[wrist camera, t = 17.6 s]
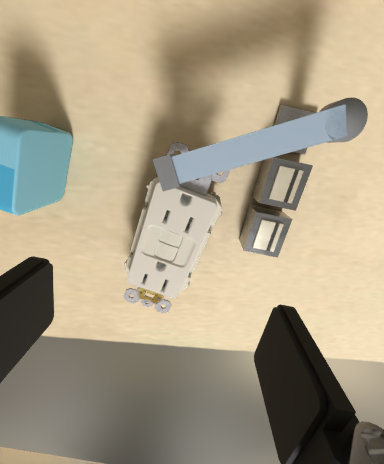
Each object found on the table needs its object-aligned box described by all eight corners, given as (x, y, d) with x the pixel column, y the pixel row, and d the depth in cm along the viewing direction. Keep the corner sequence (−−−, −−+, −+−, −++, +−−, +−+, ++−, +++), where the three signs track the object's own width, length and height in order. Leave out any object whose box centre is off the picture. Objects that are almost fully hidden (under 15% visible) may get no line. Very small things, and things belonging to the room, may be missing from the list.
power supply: (264, 155, 37) (274, 157, 32) (298, 163, 38) (314, 165, 32) (252, 196, 40) (259, 203, 35) (284, 203, 40) (296, 211, 35)
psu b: (249, 204, 40) (256, 212, 35) (281, 211, 41) (293, 220, 35) (239, 239, 43) (244, 251, 38) (269, 245, 43) (278, 258, 38)
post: (279, 106, 35) (315, 87, 24) (316, 114, 35) (368, 99, 24) (267, 146, 37) (294, 145, 26) (302, 154, 37) (343, 156, 26)
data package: (48, 123, 37) (-19, 112, 26) (74, 133, 37) (20, 127, 26) (39, 190, 41) (-22, 207, 30) (63, 199, 41) (12, 218, 30)
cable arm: (350, 97, 24) (369, 91, 21) (352, 136, 25) (369, 135, 22) (156, 156, 27) (151, 157, 24) (166, 189, 28) (163, 193, 25)
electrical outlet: (236, 161, 37) (245, 170, 28) (180, 287, 49) (174, 323, 40) (170, 134, 36) (157, 135, 27) (128, 270, 48) (110, 303, 39)
